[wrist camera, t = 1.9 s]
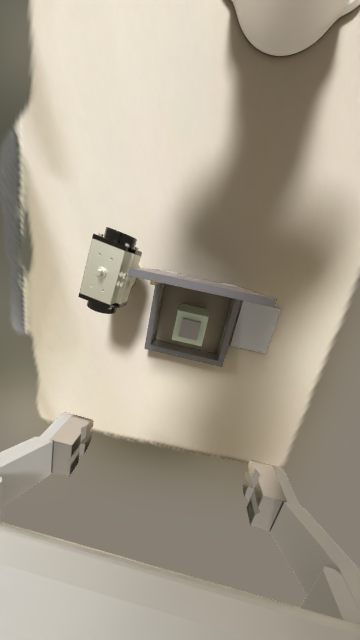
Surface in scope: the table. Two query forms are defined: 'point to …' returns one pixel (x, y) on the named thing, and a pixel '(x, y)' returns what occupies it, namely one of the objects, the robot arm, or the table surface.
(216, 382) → the table surface
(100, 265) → the pneumatic valve
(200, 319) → the block
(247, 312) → the pad
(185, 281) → the case
